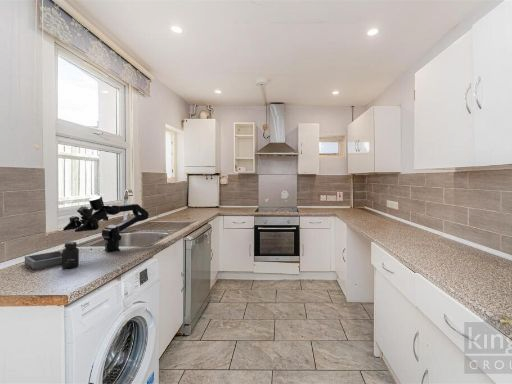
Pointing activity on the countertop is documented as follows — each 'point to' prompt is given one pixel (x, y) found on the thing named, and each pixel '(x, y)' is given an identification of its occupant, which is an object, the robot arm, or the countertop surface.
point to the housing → (44, 260)
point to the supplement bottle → (70, 256)
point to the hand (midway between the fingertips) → (69, 230)
